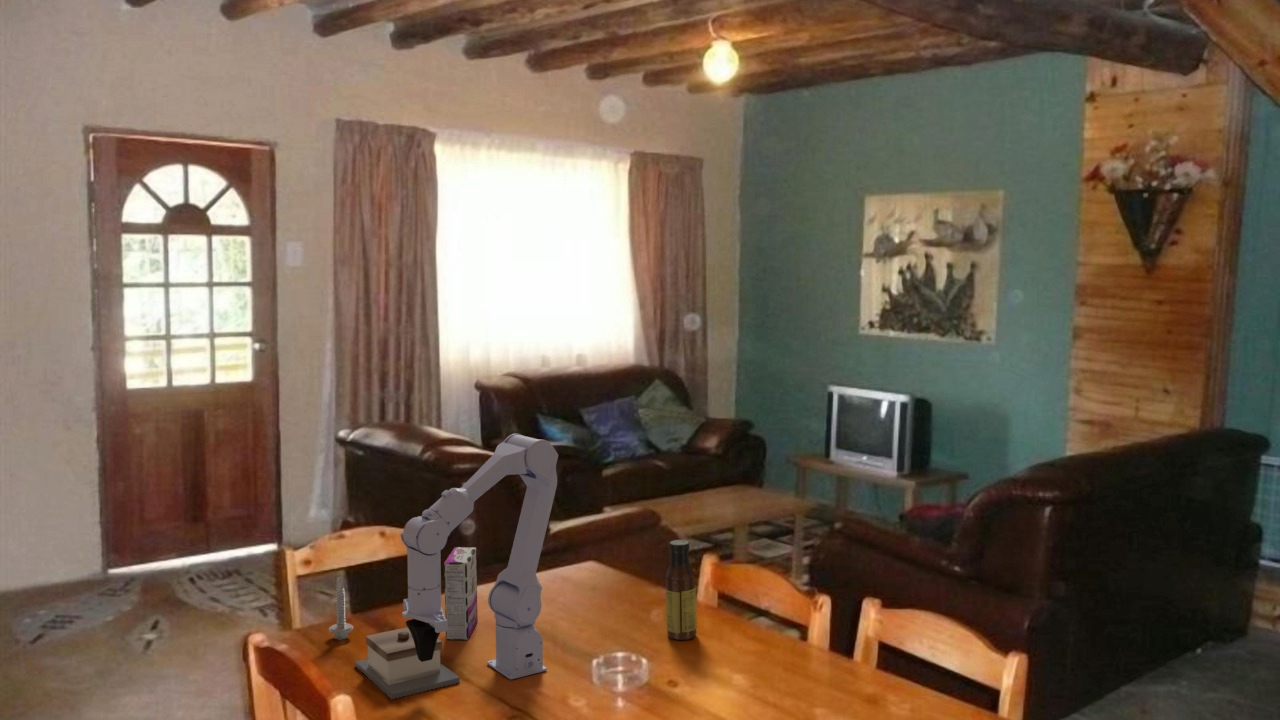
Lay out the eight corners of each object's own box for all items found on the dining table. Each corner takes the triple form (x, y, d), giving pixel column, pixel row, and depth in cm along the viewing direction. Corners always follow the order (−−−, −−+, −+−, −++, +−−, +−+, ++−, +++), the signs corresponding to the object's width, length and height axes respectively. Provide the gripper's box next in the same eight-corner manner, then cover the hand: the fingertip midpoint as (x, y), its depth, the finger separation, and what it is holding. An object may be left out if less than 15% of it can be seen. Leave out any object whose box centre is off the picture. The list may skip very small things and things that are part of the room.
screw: (354, 633, 217) (352, 641, 212) (330, 634, 216) (327, 642, 212) (353, 571, 216) (350, 579, 211) (329, 572, 215) (325, 580, 210)
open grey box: (440, 672, 195) (440, 649, 194) (388, 685, 189) (388, 660, 188) (418, 655, 203) (417, 633, 202) (368, 667, 197) (367, 643, 196)
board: (459, 682, 193) (459, 677, 192) (392, 699, 185) (392, 694, 185) (419, 652, 207) (419, 647, 207) (355, 666, 200) (355, 661, 200)
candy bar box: (454, 621, 225) (454, 546, 223) (478, 621, 224) (477, 546, 223) (443, 640, 213) (443, 561, 212) (468, 641, 213) (467, 562, 212)
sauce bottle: (697, 631, 220) (698, 538, 218) (695, 642, 214) (697, 546, 212) (666, 629, 220) (667, 537, 218) (663, 640, 214) (664, 545, 212)
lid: (441, 649, 194) (441, 636, 194) (387, 661, 188) (387, 648, 188) (418, 632, 203) (418, 619, 202) (365, 643, 196) (365, 630, 196)
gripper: (387, 578, 189) (388, 651, 191) (420, 600, 178) (421, 678, 179) (423, 572, 194) (424, 643, 195) (458, 593, 182) (459, 668, 183)
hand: (425, 659), depth 187 cm, fingers closed
